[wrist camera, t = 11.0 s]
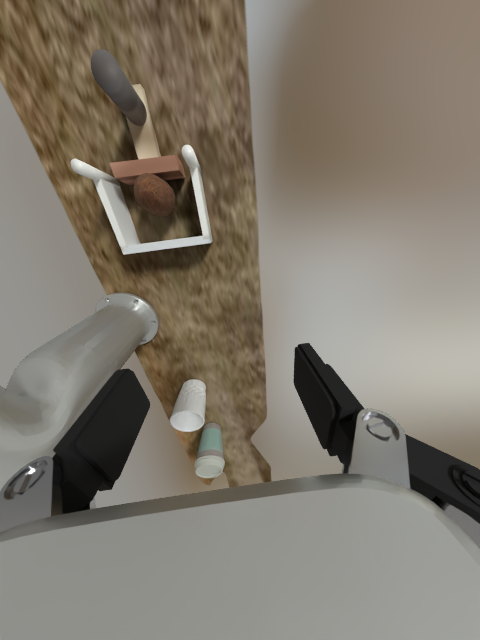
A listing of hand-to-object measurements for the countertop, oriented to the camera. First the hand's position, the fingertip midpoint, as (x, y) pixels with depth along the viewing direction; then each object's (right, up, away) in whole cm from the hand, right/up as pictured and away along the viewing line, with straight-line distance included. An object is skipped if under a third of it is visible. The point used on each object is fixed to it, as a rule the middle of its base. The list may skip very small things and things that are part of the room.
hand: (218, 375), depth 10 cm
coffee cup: (-8, -33, +48) cm, 59 cm away
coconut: (-12, +23, +19) cm, 32 cm away
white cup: (-12, -16, +39) cm, 44 cm away
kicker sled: (-13, +30, +15) cm, 36 cm away
